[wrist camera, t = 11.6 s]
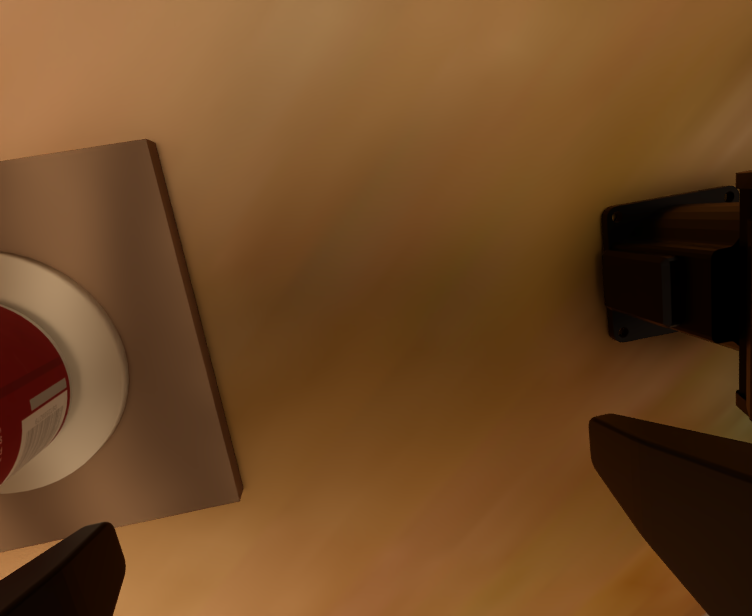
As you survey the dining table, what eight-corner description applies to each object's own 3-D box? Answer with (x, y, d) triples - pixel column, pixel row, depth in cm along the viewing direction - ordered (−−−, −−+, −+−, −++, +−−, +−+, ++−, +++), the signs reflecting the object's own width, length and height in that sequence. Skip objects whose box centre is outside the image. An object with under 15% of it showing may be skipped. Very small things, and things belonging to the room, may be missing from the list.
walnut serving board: (154, 142, 19) (137, 135, 17) (243, 488, 22) (236, 512, 21) (-271, 208, 18) (-336, 208, 16) (-109, 563, 21) (-148, 594, 19)
